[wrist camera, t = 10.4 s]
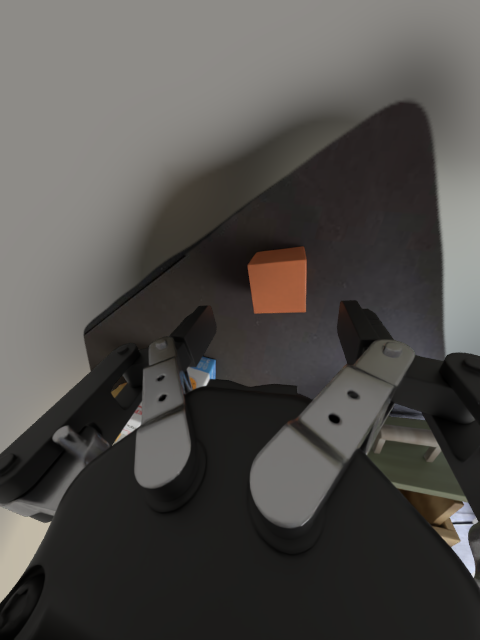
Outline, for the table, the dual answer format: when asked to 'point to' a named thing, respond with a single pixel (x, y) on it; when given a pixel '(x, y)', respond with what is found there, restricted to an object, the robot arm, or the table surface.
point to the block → (278, 280)
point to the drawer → (417, 468)
